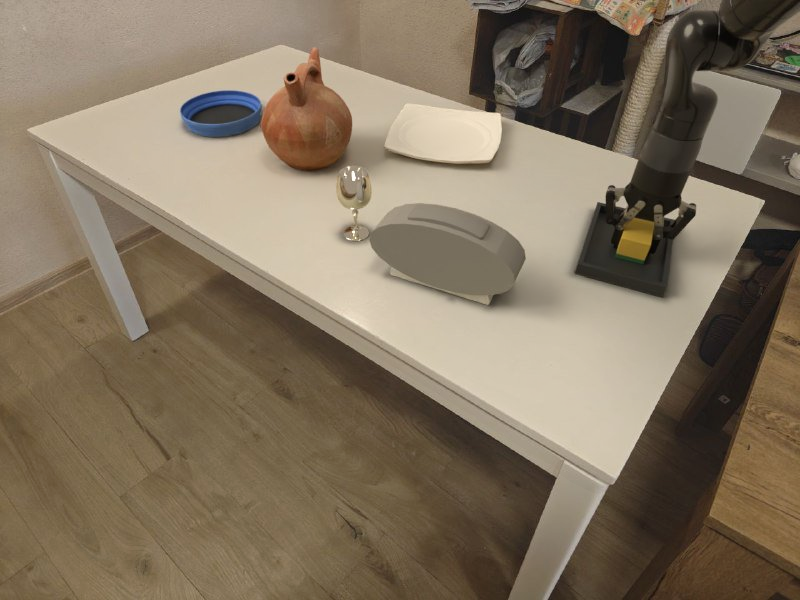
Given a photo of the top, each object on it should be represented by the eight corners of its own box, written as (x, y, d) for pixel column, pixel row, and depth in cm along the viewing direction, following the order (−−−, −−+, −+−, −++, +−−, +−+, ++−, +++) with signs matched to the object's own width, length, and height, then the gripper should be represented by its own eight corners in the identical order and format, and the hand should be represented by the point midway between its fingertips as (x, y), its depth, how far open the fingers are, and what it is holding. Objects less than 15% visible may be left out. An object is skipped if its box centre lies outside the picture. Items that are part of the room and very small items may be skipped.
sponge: (620, 234, 96) (627, 215, 93) (647, 241, 94) (654, 222, 92) (614, 257, 91) (622, 238, 88) (643, 264, 90) (651, 245, 87)
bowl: (205, 101, 135) (202, 86, 132) (274, 108, 132) (272, 93, 130) (168, 134, 122) (164, 119, 119) (244, 143, 119) (241, 127, 117)
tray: (594, 211, 102) (597, 201, 100) (671, 229, 98) (675, 219, 96) (574, 273, 89) (577, 263, 87) (662, 297, 85) (667, 287, 83)
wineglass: (354, 220, 99) (350, 160, 91) (379, 231, 96) (378, 171, 88) (333, 235, 95) (327, 174, 87) (358, 247, 93) (355, 186, 85)
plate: (494, 175, 111) (496, 163, 109) (377, 160, 114) (377, 148, 113) (504, 122, 128) (506, 111, 126) (402, 111, 132) (403, 100, 130)
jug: (289, 131, 123) (277, 38, 110) (365, 143, 120) (362, 48, 106) (252, 172, 110) (232, 72, 97) (336, 186, 107) (328, 84, 93)
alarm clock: (519, 289, 86) (533, 222, 77) (508, 314, 82) (522, 247, 73) (386, 250, 93) (386, 184, 84) (370, 271, 89) (367, 204, 80)
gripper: (613, 159, 80) (585, 250, 92) (718, 181, 76) (674, 273, 88) (620, 137, 85) (592, 226, 97) (719, 157, 81) (677, 247, 93)
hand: (631, 248), depth 92 cm, fingers closed on sponge, 4 cm apart
